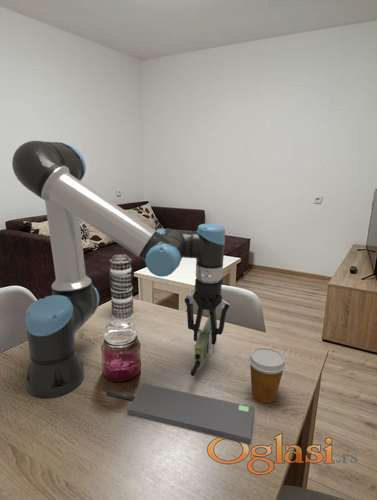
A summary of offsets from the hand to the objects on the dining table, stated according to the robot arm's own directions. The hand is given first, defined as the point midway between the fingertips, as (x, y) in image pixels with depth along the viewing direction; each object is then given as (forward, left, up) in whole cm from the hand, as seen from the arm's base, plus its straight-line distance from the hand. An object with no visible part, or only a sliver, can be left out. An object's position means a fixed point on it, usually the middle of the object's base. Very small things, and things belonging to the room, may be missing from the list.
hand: (204, 351), depth 99 cm
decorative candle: (-38, +22, -5) cm, 45 cm away
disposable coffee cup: (+19, -8, -5) cm, 21 cm away
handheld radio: (0, 0, -1) cm, 1 cm away
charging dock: (-3, -20, -5) cm, 21 cm away
